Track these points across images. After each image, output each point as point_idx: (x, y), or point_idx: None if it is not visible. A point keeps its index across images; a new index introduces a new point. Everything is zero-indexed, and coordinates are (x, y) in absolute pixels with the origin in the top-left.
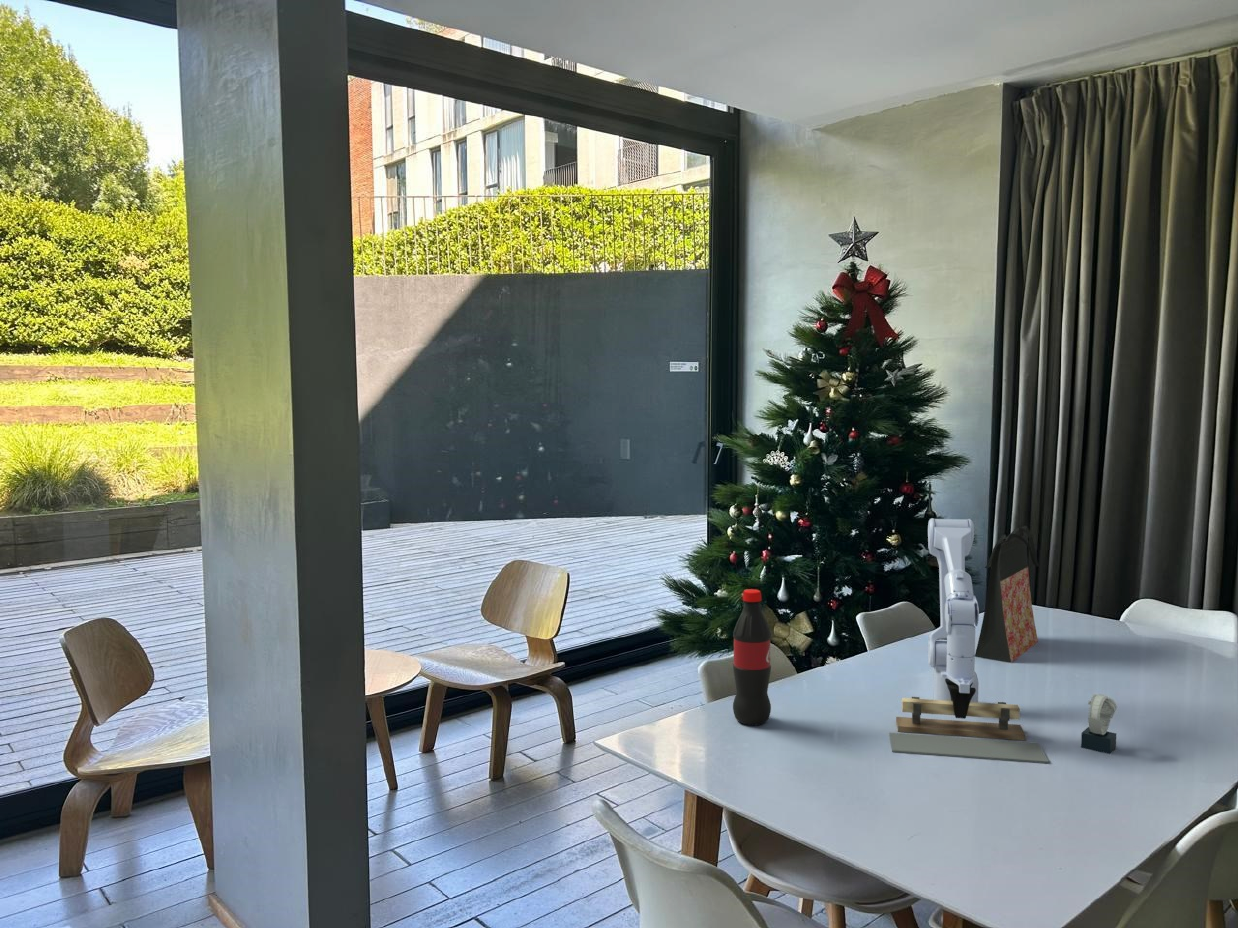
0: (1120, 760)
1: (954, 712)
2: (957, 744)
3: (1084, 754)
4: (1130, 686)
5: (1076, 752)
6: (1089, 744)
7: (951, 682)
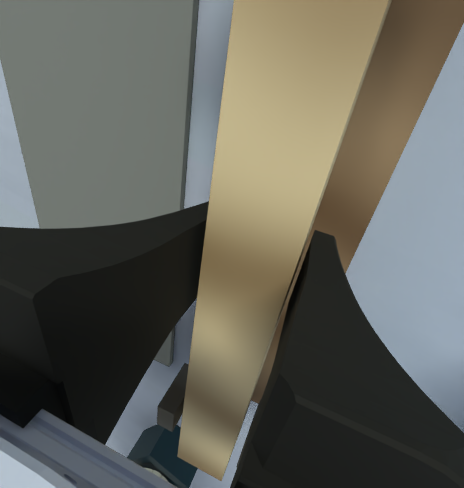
0: (119, 421)
1: (202, 203)
2: (101, 114)
3: (133, 397)
4: None
5: (140, 394)
6: (155, 433)
7: (264, 429)
